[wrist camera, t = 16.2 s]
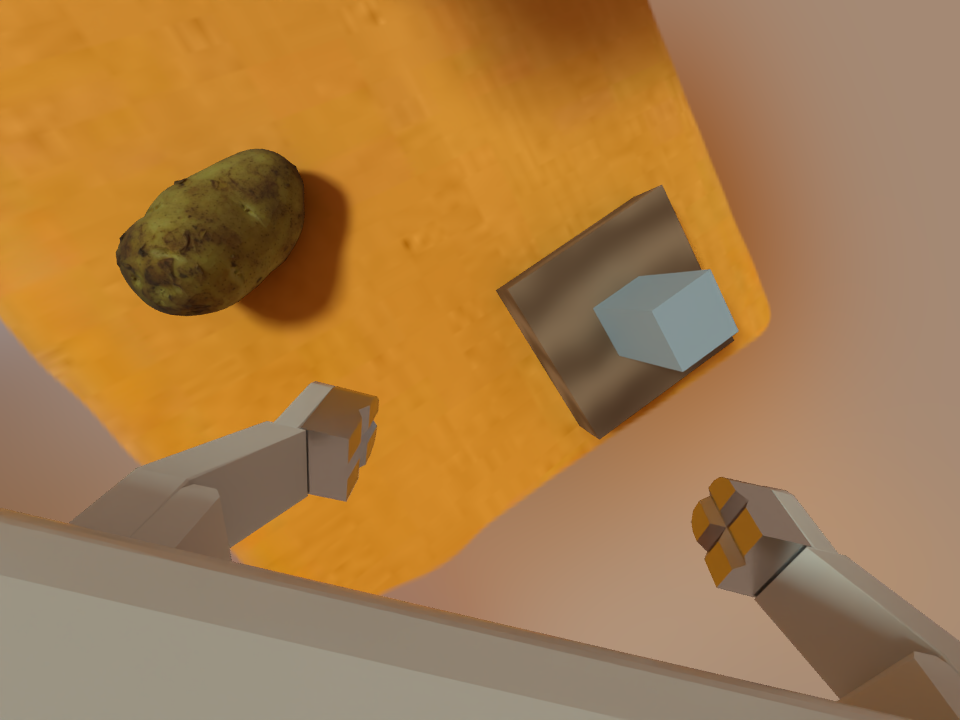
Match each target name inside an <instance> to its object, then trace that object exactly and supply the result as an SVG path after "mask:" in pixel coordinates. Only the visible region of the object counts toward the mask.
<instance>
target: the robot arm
mask: <svg viewBox="0 0 960 720" xmlns="http://www.w3.org/2000/svg"><path fill="white" fill-rule="evenodd" d="M378 406H379V399H378V397H377V396H373V395H369V394H365V393H361V392H357V391H353V390H350V389H346V388H342V387H338V386H333V385H329V384H325V383H321V382H317V381H315V382H312V383H310V384H309V385H308V386H307V387H306V388H305V390H304V391H303V392H302V393H301V394H300V395H299V396H298V397H297V398H296V399H295V400H294V401H293V402H292V403H291V405H290V406H289V407H288V408H287V409H286V410H285V411H284V412H283V413H282V414H281V415H280V416H279V417H278V418H277V420H276V421H275V422H274V423H273V422H269V421H266V422H263V423H260V424H258V425H255V426H252V427H249V428H247V429H244V430H241V431H238V432H235V433H233V434H230V435H227V436H224V437H221V438H219V439H216V440H213V441H210V442H208V443H205V444H202V445H199V446H196V447H194V448H191V449H188V450H185V451H183V452H180V453H177V454H174V455H171V456H169V457H166V458H163V459H160V460H157V461H155V462H152V463H149V464H146V465H144V466H141V467H138V468H136V469H135V470H133V471H132V472H131V473H130V474H128V475H127V476H126V477H125V478H124V479H122V480H121V481H120V482H119V483H117V484H116V485H115V486H114V487H113V488H111V489H110V490H109V491H108V492H106V493H105V494H104V495H103V496H101V497H100V498H99V499H98V500H96V501H95V502H94V503H93V504H92V505H90V506H89V507H88V508H87V509H85V510H84V511H83V512H82V513H81V514H79V515H78V516H77V517H76V518H74V519H73V520H72V521H71V522H69V523H64V522H59V521H55V520H51V519H47V518H42V517H38V516H34V515H30V514H25V513H21V512H16V511H12V510H8V509H4V508H0V720H960V641H959V640H957V639H956V638H955V637H953V636H952V635H951V634H949V633H948V632H947V631H945V630H944V629H943V628H941V627H940V626H939V625H937V624H936V623H935V622H933V621H932V620H931V619H929V618H928V617H927V616H925V615H924V614H923V613H921V612H920V611H919V610H917V609H916V608H915V607H913V606H912V605H911V604H909V603H908V602H907V601H905V600H904V599H903V598H901V597H900V596H899V595H897V594H896V593H895V592H893V591H892V590H891V589H889V588H888V587H887V586H885V585H884V584H883V583H881V582H880V581H879V580H877V579H876V578H875V577H874V576H872V575H871V574H870V573H868V572H867V571H865V570H864V569H863V568H862V567H860V566H859V565H858V564H856V563H855V562H853V561H852V560H851V559H850V558H848V557H847V556H845V555H841V554H838V553H837V551H836V550H835V549H834V547H833V546H832V545H831V543H830V542H829V541H828V539H827V538H826V537H825V536H824V534H823V533H822V532H821V530H820V529H819V528H818V526H817V525H816V524H815V523H814V521H813V520H812V519H811V517H810V516H809V515H808V513H807V512H806V511H805V509H804V508H803V507H802V505H801V504H800V503H799V502H798V500H797V499H796V498H795V496H794V495H792V494H791V493H789V492H788V491H786V490H781V489H776V488H771V487H767V486H759V485H755V484H750V483H746V482H741V481H737V480H733V479H728V478H724V477H719V478H718V479H716V480H714V481H713V483H712V484H711V486H710V487H709V492H710V496H709V497H707V498H704V499H702V500H700V501H699V502H698V504H697V505H696V507H695V509H694V510H693V516H692V528H693V533H694V535H695V538H696V540H697V542H698V543H699V544H700V545H701V546H702V547H703V548H704V549H705V550H706V551H707V553H706V556H705V562H706V564H707V566H708V569H709V571H710V573H711V575H712V578H713V580H714V582H715V585H716V587H717V588H721V589H724V590H728V591H732V592H736V593H739V594H743V595H747V596H751V597H755V601H756V602H757V603H758V604H759V605H760V606H761V608H762V609H763V610H764V611H765V612H766V613H767V615H768V616H769V617H770V618H771V619H772V620H773V622H774V623H775V624H776V625H777V626H778V627H779V629H780V630H781V631H782V632H783V633H784V634H785V636H786V637H787V638H788V639H789V640H790V641H791V643H792V644H793V645H794V646H795V647H796V648H797V650H798V651H799V652H800V653H801V654H802V655H803V656H804V658H805V659H806V660H807V661H808V662H809V664H810V665H811V666H812V667H813V668H814V669H815V671H817V673H818V674H819V675H820V676H821V678H822V679H823V680H824V681H825V682H826V683H827V685H828V686H829V687H830V688H831V689H832V690H833V692H835V694H836V695H837V696H838V697H839V698H840V700H838V701H832V700H828V699H823V698H819V697H815V696H811V695H806V694H802V693H797V692H793V691H789V690H785V689H780V688H776V687H771V686H767V685H762V684H758V683H754V682H750V681H745V680H741V679H737V678H732V677H728V676H724V675H719V674H715V673H711V672H706V671H702V670H698V669H693V668H689V667H684V666H680V665H676V664H672V663H667V662H663V661H659V660H654V659H650V658H646V657H641V656H637V655H632V654H628V653H624V652H619V651H615V650H611V649H607V648H602V647H598V646H594V645H590V644H585V643H581V642H577V641H572V640H568V639H564V638H559V637H555V636H551V635H547V634H542V633H538V632H534V631H529V630H525V629H521V628H516V627H512V626H508V625H504V624H499V623H495V622H491V621H487V620H482V619H478V618H474V617H469V616H465V615H461V614H456V613H452V612H448V611H443V610H439V609H435V608H430V607H426V606H422V605H417V604H413V603H409V602H405V601H400V600H396V599H392V598H387V597H383V596H379V595H374V594H370V593H366V592H362V591H357V590H353V589H349V588H344V587H340V586H336V585H331V584H327V583H323V582H318V581H314V580H310V579H305V578H301V577H297V576H293V575H288V574H284V573H280V572H275V571H271V570H267V569H262V568H258V567H254V566H249V565H245V564H241V563H236V562H232V559H231V554H230V549H229V548H231V547H232V546H234V545H235V544H237V543H238V542H240V541H241V540H243V539H244V538H246V537H247V536H249V535H250V534H251V533H253V532H254V531H256V530H257V529H259V528H260V527H262V526H263V525H265V524H266V523H268V522H269V521H271V520H272V519H274V518H275V517H277V516H278V515H280V514H281V513H283V512H284V511H286V510H287V509H289V508H290V507H292V506H293V505H295V504H296V503H298V502H299V501H301V500H302V499H304V498H305V497H307V496H308V494H312V495H317V496H321V497H326V498H331V499H336V500H341V501H347V499H348V497H349V495H350V493H351V491H352V490H353V488H354V486H355V484H356V482H357V480H358V474H359V468H360V467H361V466H363V465H365V464H366V462H367V460H368V458H369V456H370V454H371V451H372V448H373V445H374V442H375V437H376V430H377V425H376V424H375V422H374V421H373V420H374V418H375V416H376V414H377V412H378Z"/></svg>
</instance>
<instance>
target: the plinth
mask: <svg viewBox="0 0 960 720" xmlns="http://www.w3.org/2000/svg"><path fill="white" fill-rule="evenodd" d="M698 270H701V268H700V266H699V264H698V261H697V259H696V257H695V255H694V253H693V251H692V249H691V246H690V244H689V242H688V240H687V238H686V236H685V233H684V231H683V229H682V227H681V225H680V223H679V221H678V218H677V216H676V214H675V212H674V210H673V208H672V205H671V203H670V201H669V199H668V197H667V195H666V192H665V190H664V188H663V186H662V185H660V186H658V187H656V188H654V189H651V190H649V191H647V192H644V193H642V194H640V195H637V196H635V197H633V198H632V199H630V200H629V201H627V202H626V203H624V204H623V205H622V206H620V207H619V208H617V209H616V210H614V211H613V212H611V213H610V214H608V215H607V216H605V217H604V218H602V219H601V220H599V221H598V222H596V223H595V224H593V225H592V226H591V227H589V228H588V229H586V230H585V231H583V232H582V233H580V234H579V235H577V236H576V237H574V238H573V239H571V240H570V241H568V242H567V243H565V244H564V245H562V246H561V247H559V248H558V249H557V250H555V251H554V252H552V253H551V254H549V255H548V256H546V257H545V258H543V259H542V260H540V261H539V262H537V263H536V264H534V265H533V266H531V267H530V268H528V269H527V270H526V271H524V272H523V273H521V274H520V275H518V276H517V277H515V278H514V279H512V280H511V281H509V282H508V283H506V284H505V285H503V286H502V287H500V288H499V289H497V290H496V291H497V293H498V294H499V296H500V298H501V299H502V301H503V303H504V304H505V306H506V307H507V309H508V311H509V312H510V314H511V316H512V317H513V319H514V320H515V322H516V324H517V325H518V327H519V328H520V330H521V332H522V333H523V335H524V337H525V338H526V340H527V341H528V343H529V345H530V346H531V348H532V350H533V351H534V353H535V354H536V356H537V358H538V359H539V361H540V362H541V364H542V366H543V367H544V369H545V371H546V372H547V374H548V375H549V377H550V379H551V380H552V382H553V383H554V385H555V387H556V388H557V390H558V392H559V393H560V395H561V396H562V398H563V400H564V401H565V403H566V405H567V406H568V408H569V409H570V411H571V413H572V414H573V416H574V417H575V419H576V421H577V422H578V424H579V426H581V427H582V428H584V429H585V430H586V431H588V432H589V433H591V434H592V435H594V436H595V437H596V438H598V439H601V438H602V437H603V436H605V435H606V434H607V433H609V432H610V431H611V430H613V429H614V428H616V427H617V426H618V425H620V424H621V423H622V422H624V421H625V420H626V419H628V418H629V417H631V416H632V415H633V414H635V413H636V412H637V411H639V410H640V409H641V408H643V407H644V406H645V405H647V404H648V403H650V402H651V401H652V400H654V399H655V398H656V397H658V396H659V395H660V394H662V393H663V392H665V391H666V390H667V389H669V388H670V387H671V386H673V385H674V384H675V383H677V382H678V381H680V380H681V379H682V378H684V377H685V376H686V375H688V374H689V373H690V372H692V371H693V370H694V369H696V368H697V367H699V366H700V365H701V364H703V363H704V362H705V361H707V360H708V359H709V358H711V357H712V356H714V355H715V354H716V353H718V352H719V351H720V350H722V349H723V348H724V347H726V346H727V345H729V344H730V343H731V342H733V341H734V339H733V337H732V336H731V337H730V338H729V339H727V340H726V341H725V342H723V343H722V344H721V345H719V346H718V347H717V348H715V349H714V350H712V351H711V352H710V353H708V354H707V355H706V356H704V357H703V358H702V359H700V360H699V361H697V362H696V363H695V364H693V365H692V366H691V367H689V368H688V369H687V370H685V371H684V372H681V371H677V370H673V369H669V368H665V367H661V366H657V365H653V364H649V363H646V362H642V361H638V360H634V359H630V358H626V357H622V356H619V354H618V353H617V351H616V349H615V347H614V345H613V344H612V342H611V340H610V338H609V336H608V335H607V333H606V331H605V329H604V327H603V326H602V324H601V322H600V320H599V318H598V317H597V315H596V313H595V311H594V309H593V308H594V307H596V306H597V305H598V304H600V303H601V302H603V301H604V300H606V299H607V298H608V297H610V296H611V295H613V294H614V293H616V292H617V291H618V290H620V289H621V288H623V287H624V286H626V285H627V284H628V283H630V282H631V281H633V280H634V279H636V278H637V277H638V276H646V275H657V274H667V273H677V272H688V271H698Z"/></svg>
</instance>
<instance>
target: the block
mask: <svg viewBox="0 0 960 720" xmlns="http://www.w3.org/2000/svg"><path fill="white" fill-rule="evenodd" d="M593 309H594V311H595V313H596V315H597V317H598V318H599V320H600V322H601V324H602V326H603V327H604V329H605V331H606V333H607V335H608V336H609V338H610V340H611V342H612V344H613V345H614V347H615V349H616V351H617V353H618V354H619V356H622V357H626V358H630V359H634V360H638V361H642V362H646V363H649V364H653V365H657V366H661V367H665V368H669V369H673V370H677V371H681V372H684V371H685V370H687V369H688V368H689V367H691V366H692V365H693V364H695V363H696V362H697V361H699V360H700V359H702V358H703V357H704V356H706V355H707V354H708V353H710V352H711V351H712V350H714V349H715V348H717V347H718V346H719V345H721V344H722V343H723V342H725V341H726V340H727V339H729V338H730V337H731V336H733V335H734V334H736V333H737V332H738V329H737V327H736V325H735V322H734V320H733V318H732V316H731V314H730V311H729V309H728V307H727V305H726V303H725V300H724V298H723V296H722V294H721V292H720V290H719V287H718V285H717V283H716V281H715V279H714V276H713V274H712V272H711V270H710V269H709V270H698V271H688V272H677V273H667V274H657V275H646V276H638V277H637V278H636V279H634V280H633V281H631V282H630V283H628V284H627V285H626V286H624V287H623V288H621V289H620V290H618V291H617V292H616V293H614V294H613V295H611V296H610V297H608V298H607V299H606V300H604V301H603V302H601V303H600V304H598V305H597V306H596V307H594V308H593Z"/></svg>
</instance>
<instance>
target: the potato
mask: <svg viewBox="0 0 960 720" xmlns="http://www.w3.org/2000/svg"><path fill="white" fill-rule="evenodd" d="M303 223H304V184H303V181H302V178H301V176H300V174H299V173H298V170H297V168H296V166H295V165H293V164H292V163H290V162H289V161H288V160H287V159H285V158H284V157H283V156H281V155H279V154H278V153H275V152H272V151H269V150H265V149H250V150H246V151H243V152H239V153H237V154H235V155H232V156H230V157H228V158H226V159H223V160H221V161H219V162H217V163H215V164H213V165H212V166H210V167H208V168H206V169H204V170H202V171H200V172H198V173H196V174H194V175H192V176H190V177H188V178H186V179H183V180H179V181H175V182H174V185H172V186H171V187H169V188H167V189H166V190H165V191H163V192H162V193H161V194H160V195H159V196H158V197H157V198H156V200H155V201H154V202H153V203H152V205H151V206H150V207H149V209H148V210H147V212H146V214H145V216H144V217H143V218H141V219H139V220H138V221H136V222H135V223H134V224H133V225H132V226H131V227H130V228H129V229H128V230H127V231H126V232H125V233H124V234H123V235H122V236H121V237H120V244H119V247H118V250H117V251H116V258H117V265H118V266H119V267H120V270H121V273H122V275H123V276H124V278H125V280H126V282H127V283H128V284H129V286H130V287H131V289H132V290H133V291H134V292H135V293H136V294H137V295H138V296H139V297H140V298H141V299H142V300H143V301H144V302H145V303H146V304H148V305H149V306H151V307H152V308H154V309H156V310H158V311H160V312H163V313H167V314H170V315H179V316H193V315H203V314H207V313H212V312H216V311H219V310H222V309H225V308H227V307H229V306H231V305H233V304H235V303H236V302H239V301H240V300H241V299H242V298H243V297H245V296H246V295H247V294H248V293H250V292H251V291H252V290H253V289H254V288H256V287H257V286H258V285H259V284H260V283H261V282H262V281H263V280H264V279H265V278H266V277H267V276H268V275H269V274H270V273H271V272H272V271H273V270H274V269H276V268H277V267H278V266H279V265H281V264H282V263H283V262H284V261H285V260H286V258H287V257H288V255H289V254H290V252H291V250H292V249H293V247H294V246H295V244H296V242H297V240H298V238H299V235H300V233H301V231H302V227H303Z"/></svg>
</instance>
